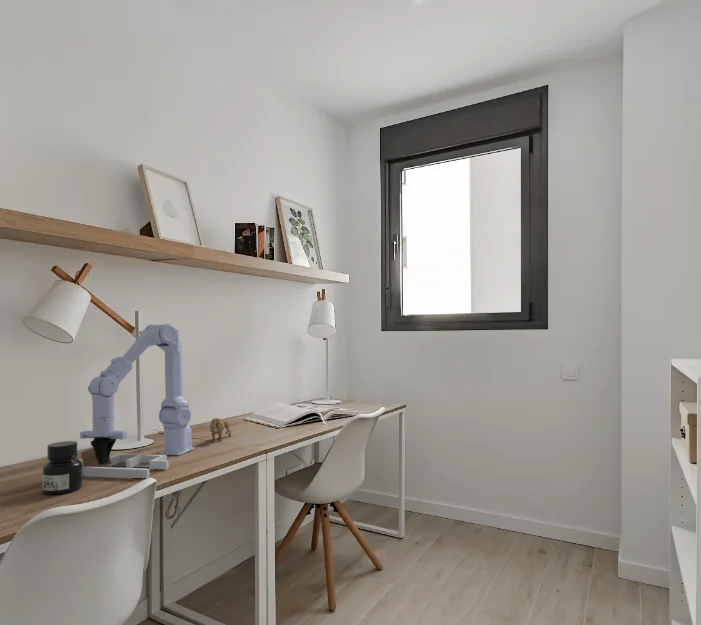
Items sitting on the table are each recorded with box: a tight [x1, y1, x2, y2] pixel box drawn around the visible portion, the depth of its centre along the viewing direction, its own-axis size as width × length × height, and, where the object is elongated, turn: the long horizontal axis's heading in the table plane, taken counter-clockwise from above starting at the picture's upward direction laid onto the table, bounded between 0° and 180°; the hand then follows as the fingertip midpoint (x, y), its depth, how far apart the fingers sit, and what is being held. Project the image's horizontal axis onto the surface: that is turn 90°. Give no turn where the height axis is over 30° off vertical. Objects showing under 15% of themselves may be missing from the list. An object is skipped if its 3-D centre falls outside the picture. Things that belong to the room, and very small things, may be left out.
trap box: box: [80, 453, 170, 480], centre depth 148 cm, size 16×28×2 cm, turn 77°
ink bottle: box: [41, 440, 83, 495], centre depth 130 cm, size 10×9×12 cm
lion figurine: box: [209, 417, 232, 443], centre depth 188 cm, size 15×5×9 cm, turn 178°
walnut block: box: [80, 447, 111, 467], centre depth 148 cm, size 5×5×6 cm
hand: (103, 463), depth 147 cm, fingers closed
